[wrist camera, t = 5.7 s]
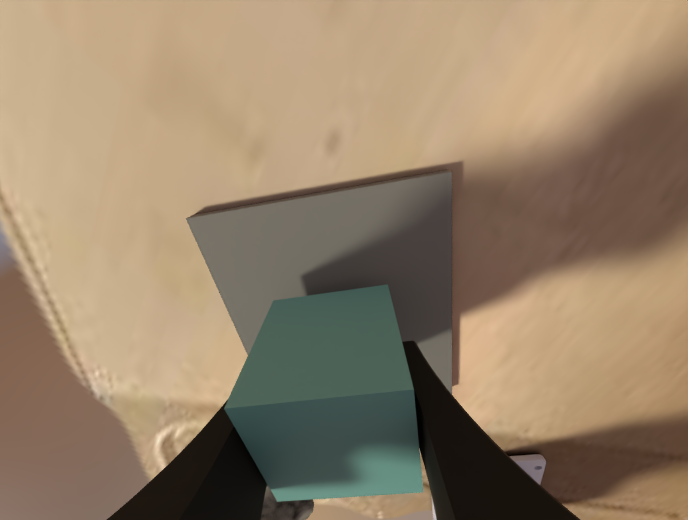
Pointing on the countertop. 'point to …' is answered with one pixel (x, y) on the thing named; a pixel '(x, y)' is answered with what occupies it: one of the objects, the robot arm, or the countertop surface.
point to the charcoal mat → (341, 255)
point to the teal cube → (330, 399)
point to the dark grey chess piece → (285, 508)
